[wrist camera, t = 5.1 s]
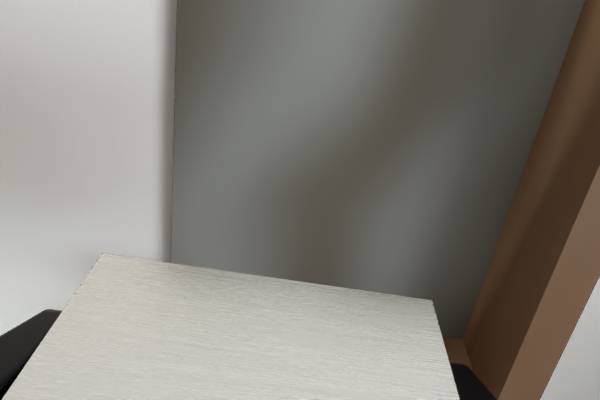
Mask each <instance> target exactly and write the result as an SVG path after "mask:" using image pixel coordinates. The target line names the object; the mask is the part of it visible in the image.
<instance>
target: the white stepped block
mask: <svg viewBox="0 0 600 400" xmlns="http://www.w3.org/2000/svg"><path fill="white" fill-rule="evenodd" d="M2 400H460V399H459V395H458V392H457V388H456V384H455V381H454V377H453V374H452V370H451V367H450V363H449V359H448V356H447V352H446V349H445V345H444V342H443V338H442V334H441V331H440V327H439V324H438V320H437V317H436V313H435V310H434V306H433V302H432V300H426V299H419V298H412V297H405V296H398V295H391V294H384V293H377V292H370V291H363V290H356V289H349V288H342V287H335V286H328V285H321V284H314V283H307V282H300V281H293V280H286V279H279V278H272V277H265V276H258V275H251V274H244V273H237V272H230V271H224V270H217V269H210V268H203V267H196V266H189V265H182V264H175V263H168V262H161V261H154V260H147V259H140V258H133V257H126V256H119V255H112V254H105V253H102V254H101V256H100V257H99V258H98V260H97V261H96V263H95V264H94V266H93V267H92V269H91V270H90V272H89V273H88V275H87V276H86V277H85V279H84V280H83V282H82V283H81V285H80V286H79V288H78V289H77V291H76V292H75V293H74V295H73V296H72V298H71V299H70V301H69V302H68V304H67V305H66V307H65V308H64V310H63V311H62V312H61V314H60V315H59V317H58V318H57V320H56V321H55V323H54V324H53V326H52V327H51V328H50V330H49V331H48V333H47V334H46V336H45V337H44V339H43V340H42V342H41V343H40V345H39V346H38V347H37V349H36V350H35V352H34V353H33V355H32V356H31V358H30V359H29V361H28V362H27V363H26V365H25V366H24V368H23V369H22V371H21V372H20V374H19V375H18V377H17V378H16V380H15V381H14V382H13V384H12V385H11V387H10V388H9V390H8V391H7V393H6V394H5V396H4V397H3V398H2Z"/></svg>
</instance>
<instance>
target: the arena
mask: <svg viewBox="0 0 600 400" xmlns="http://www.w3.org/2000/svg"><path fill="white" fill-rule="evenodd" d="M171 263H175V264H182V265H189V266H196V267H203V268H210V269H217V270H224V271H230V272H237V273H244V274H251V275H258V276H265V277H272V278H279V279H286V280H293V281H300V282H307V283H314V284H321V285H328V286H335V287H342V288H349V289H356V290H363V291H370V292H377V293H384V294H391V295H398V296H405V297H412V298H419V299H426V300H432V302H433V306H434V310H435V313H436V317H437V320H438V324H439V327H440V331H441V334H442V338H443V342H444V345H445V349H446V352H447V356H448V359H449V362H452V363H460V364H464V365H466V366H468V367H469V368H470V369H471V370H472V371H473V372H474V374H475V375H476V376H477V377H478V378H479V379H480V380H481V381H482V382H483V383H484V385H485V386H486V387H487V388H488V389H489V390H490V391H491V392H492V393H493V395H494V396H495V397H496V398H497V399H498V400H540V398H541V396H542V394H543V392H544V390H545V388H546V386H547V384H548V382H549V380H550V378H551V376H552V374H553V371H554V369H555V367H556V365H557V363H558V361H559V359H560V357H561V355H562V353H563V351H564V349H565V347H566V345H567V343H568V340H569V338H570V336H571V334H572V332H573V330H574V328H575V326H576V324H577V322H578V320H579V318H580V316H581V314H582V312H583V310H584V307H585V305H586V303H587V301H588V299H589V297H590V295H591V293H592V291H593V289H594V287H595V285H596V283H597V281H598V279H599V276H600V0H177V25H176V65H175V105H174V145H173V186H172V226H171Z"/></svg>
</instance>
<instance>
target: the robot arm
mask: <svg viewBox="0 0 600 400" xmlns="http://www.w3.org/2000/svg"><path fill="white" fill-rule="evenodd" d="M61 312H62V311H60V310H53V309H47V310H44V311H42V312H41V313H39V314H37V315H35V316H34V317H32V318H30V319H29V320H27V321H25V322H23V323H22V324H20V325H18V326H17V327H15V328H13V329H12V330H10V331H8V332H6V333H5V334H3V335H1V336H0V400H2V398H3V397H4V396H5V394H6V393H7V391H8V390H9V388H10V387H11V385H12V384H13V382H14V381H15V380H16V378H17V377H18V375H19V374H20V372H21V371H22V369H23V368H24V366H25V365H26V363H27V362H28V361H29V359H30V358H31V356H32V355H33V353H34V352H35V350H36V349H37V347H38V346H39V345H40V343H41V342H42V340H43V339H44V337H45V336H46V334H47V333H48V331H49V330H50V328H51V327H52V326H53V324H54V323H55V321H56V320H57V318H58V317H59V315H60V314H61ZM449 363H450V367H451V370H452V374H453V377H454V381H455V384H456V388H457V392H458V395H459V399H460V400H498V399H497V398H496V397H495V396H494V395H493V393H492V392H491V391H490V390H489V389H488V388H487V387H486V386H485V385H484V383H483V382H482V381H481V380H480V379H479V378H478V377H477V376H476V375H475V374H474V372H473V371H472V370H471V369H470V368H469V367H468V366H466V365H464V364H460V363H452V362H449Z"/></svg>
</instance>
